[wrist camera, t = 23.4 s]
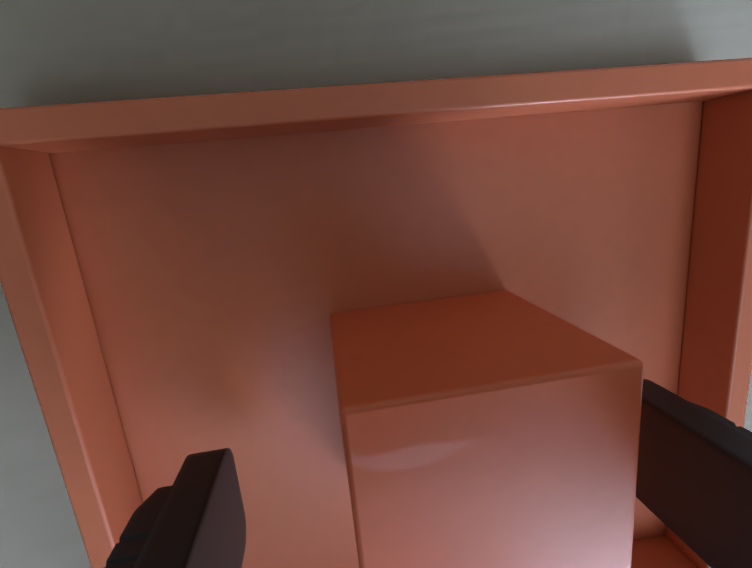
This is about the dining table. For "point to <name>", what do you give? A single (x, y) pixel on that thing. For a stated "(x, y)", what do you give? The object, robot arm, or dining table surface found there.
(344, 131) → the clay tray
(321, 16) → the dining table surface
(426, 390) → the clay block
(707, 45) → the dining table surface
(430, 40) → the dining table surface
